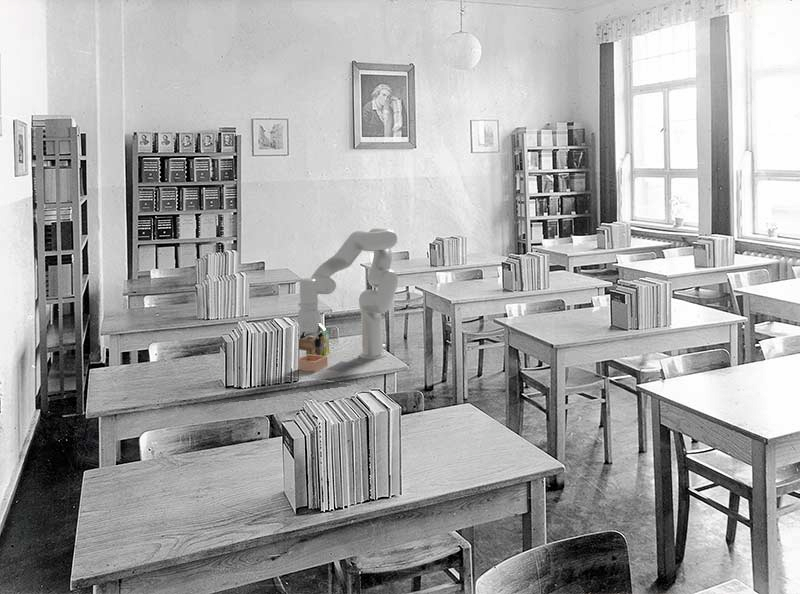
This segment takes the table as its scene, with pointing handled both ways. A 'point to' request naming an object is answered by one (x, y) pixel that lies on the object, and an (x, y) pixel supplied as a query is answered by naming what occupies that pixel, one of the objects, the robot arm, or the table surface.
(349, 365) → the mat
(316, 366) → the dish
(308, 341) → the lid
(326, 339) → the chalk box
